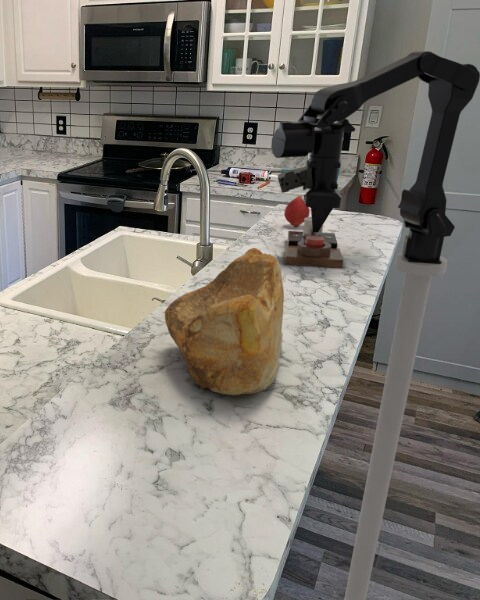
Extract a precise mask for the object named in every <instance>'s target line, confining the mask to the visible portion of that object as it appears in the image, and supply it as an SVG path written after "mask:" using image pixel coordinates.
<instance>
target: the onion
mask: <svg viewBox="0 0 480 600" xmlns="http://www.w3.org/2000/svg"><path fill="white" fill-rule="evenodd" d="M307 217H310V207H306V206H305V201H304V199H303V196H302V195H301V194H300V195H297V196H296V197H295V198H294V199H292V200H291V201H289V202H288V203H287V205H286V207H285V209H284V218H285V220H286V221H287V222H288V223H289V224H290V225H291V226H293V227H294V228H298V227H299V226H300V225H302V224H304V220H305V218H307Z"/></svg>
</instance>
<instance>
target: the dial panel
mask: <svg viewBox="0 0 480 600" xmlns="http://www.w3.org/2000/svg"><path fill="white" fill-rule="evenodd" d="M322 237H323V238H324V241H325V242H327V243H330V244H331V248H338V240H337V237H336V233H334V232H322ZM302 240H306V238H305V237H303V231H300V230H298V231H296V230H288V231H287V238H286V242H287V243H286V245H290V246H298V242H299V241H302Z"/></svg>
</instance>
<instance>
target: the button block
mask: <svg viewBox="0 0 480 600" xmlns="http://www.w3.org/2000/svg"><path fill="white" fill-rule="evenodd" d="M305 242H306V240H302V241H299V242H298V246H290V245H287V244H286V245H285V249H284V251H285V252H284V258H285V259H284V264H285V265H293V266H308V267H309V266H310V267H323V268H325V267H326V268H336V269H337V268H338V269H339V268H340V269H342V268H343V265H344V264H343V263H344V259H343V255H342V251H341V248H339V247H337V248H331V244H330V243H327V242H325V241H324V246H323V247H310V246H306V245H305Z"/></svg>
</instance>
